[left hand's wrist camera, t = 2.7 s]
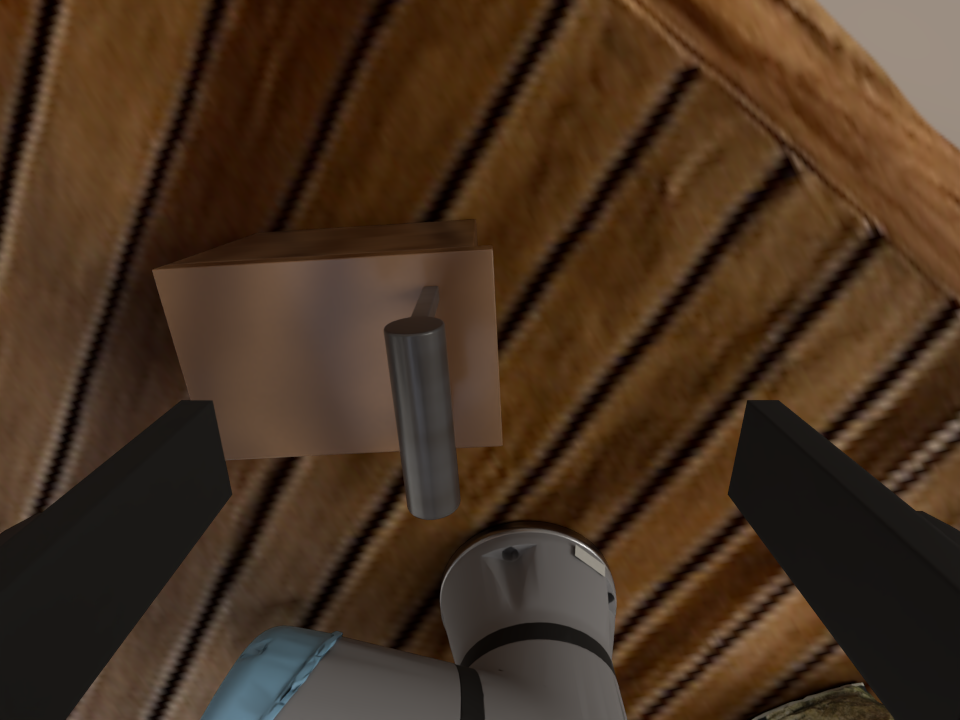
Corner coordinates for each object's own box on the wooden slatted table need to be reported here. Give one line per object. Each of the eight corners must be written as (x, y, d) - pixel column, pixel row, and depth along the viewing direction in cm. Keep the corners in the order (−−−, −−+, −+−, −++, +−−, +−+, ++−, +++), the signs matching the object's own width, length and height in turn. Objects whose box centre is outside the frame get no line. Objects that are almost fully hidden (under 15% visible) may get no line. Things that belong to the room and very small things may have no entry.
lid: (492, 245, 24) (497, 288, 16) (501, 435, 28) (510, 545, 20) (165, 264, 25) (16, 317, 17) (218, 450, 28) (117, 563, 20)
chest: (475, 219, 34) (473, 246, 24) (484, 361, 38) (485, 435, 28) (257, 232, 35) (165, 264, 25) (287, 371, 39) (218, 449, 28)
